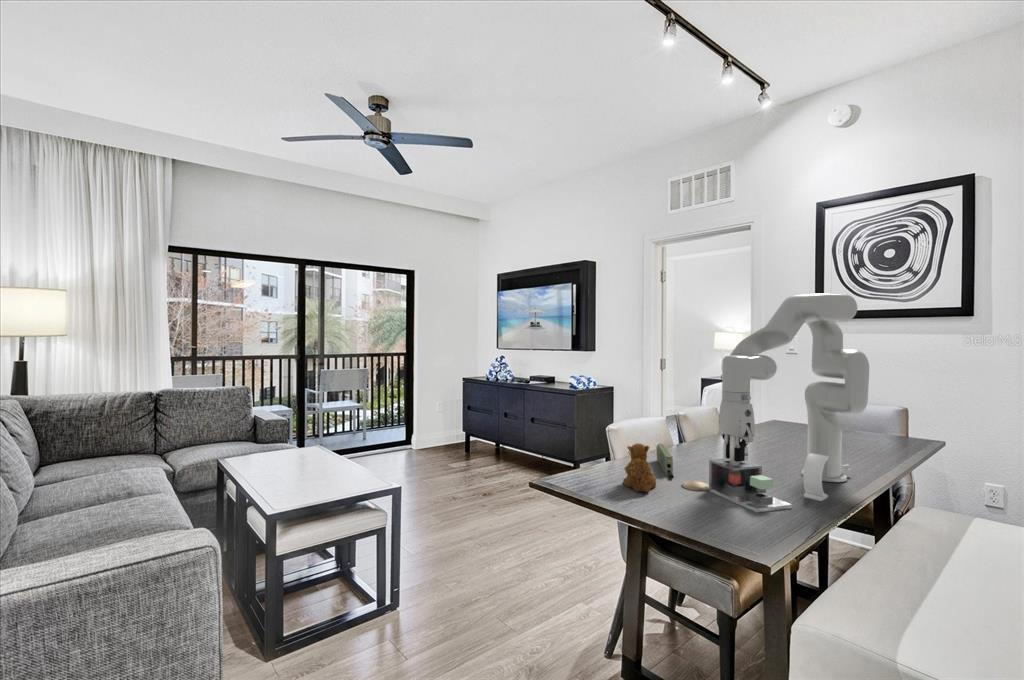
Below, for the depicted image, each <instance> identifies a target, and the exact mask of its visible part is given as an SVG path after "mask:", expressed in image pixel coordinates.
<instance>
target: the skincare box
mask: <svg viewBox="0 0 1024 680" xmlns="http://www.w3.org/2000/svg"><path fill="white" fill-rule="evenodd" d="M722 445H723V446H722V447H723V448H722V450H723V451H722V459H724V458H726V445H725V444H724V443H723V444H722ZM745 460H746V461H749V445H747V447H746V448H745Z"/></svg>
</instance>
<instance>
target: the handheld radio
mask: <svg viewBox="0 0 1024 680" xmlns="http://www.w3.org/2000/svg"><path fill="white" fill-rule="evenodd" d="M656 460H657V462H658V464H659V465H660V467H661V469H662V471H663V473H664V475H666V476H669V477H668V478H670V479H672V480H673V479H674V477H675V476H674V458H673V455H672V454H671V452H670V451H669V450H668V448H667V446H666V445H665V444H664V443H657V445H656Z"/></svg>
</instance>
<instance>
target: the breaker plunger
mask: <svg viewBox="0 0 1024 680" xmlns="http://www.w3.org/2000/svg"><path fill="white" fill-rule="evenodd" d="M728 482H729V483H731V484H732V485H733V486H738V484H741V473H740V474H733V473H730V472H729V479H728Z"/></svg>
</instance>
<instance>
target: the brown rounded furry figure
mask: <svg viewBox="0 0 1024 680" xmlns="http://www.w3.org/2000/svg"><path fill="white" fill-rule="evenodd" d="M650 448H651V447H650V446H649V445H644V444H642V443H637V442H636V443H635V444H633V445H631V446H630V445H627V450H628V452H627V453H626V454H627V455H628V456H630V458H631V460H630V461H629V462H628V464H627V465H626V466H625V467H624V470H625V472H624V473H625V474H626V477H625V478H623V480H622V482H623V484H624V486H625V487H627V488H630V489H633V490H635V491H636V492H638V493H649V492H650V491H651V489H654V488H656V486H657V480H656V479H657V478H656V476H655V475H654V473H652V467H651V465H650V463H649V461H647V460H648V459H647V458H648V451H649V450H650Z"/></svg>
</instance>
